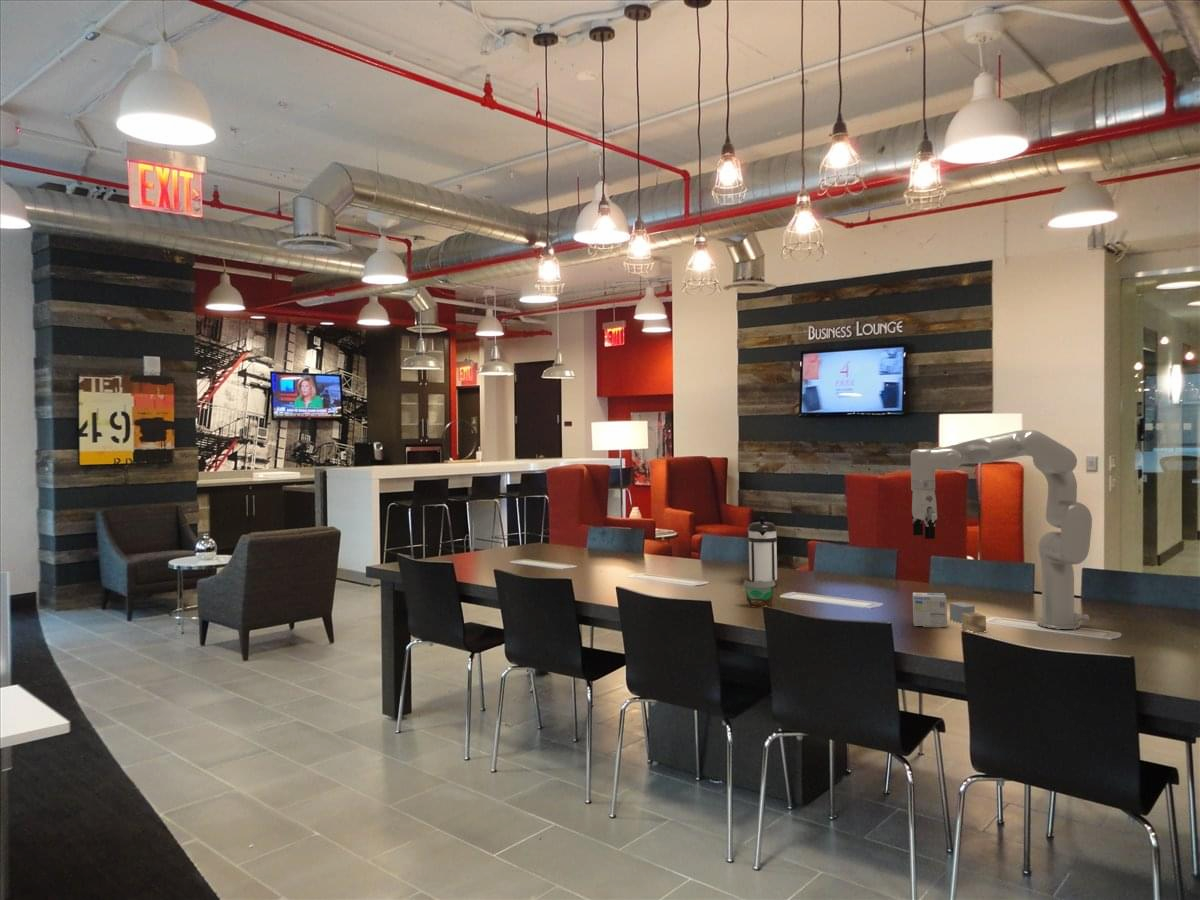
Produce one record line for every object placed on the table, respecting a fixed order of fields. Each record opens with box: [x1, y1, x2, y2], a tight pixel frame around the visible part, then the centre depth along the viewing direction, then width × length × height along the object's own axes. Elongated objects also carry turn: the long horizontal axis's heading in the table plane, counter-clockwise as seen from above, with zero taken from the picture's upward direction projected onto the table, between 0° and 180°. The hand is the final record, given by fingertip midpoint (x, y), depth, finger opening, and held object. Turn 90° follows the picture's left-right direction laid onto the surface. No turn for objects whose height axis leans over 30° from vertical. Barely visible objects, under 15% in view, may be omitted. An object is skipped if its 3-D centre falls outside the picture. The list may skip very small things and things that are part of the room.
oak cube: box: [961, 612, 987, 633], centre depth 278 cm, size 6×6×6 cm
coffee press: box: [747, 516, 778, 586], centre depth 370 cm, size 17×16×30 cm
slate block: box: [949, 601, 976, 624], centre depth 291 cm, size 4×7×6 cm, turn 16°
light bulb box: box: [912, 592, 948, 628], centre depth 286 cm, size 11×7×11 cm, turn 74°
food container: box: [743, 579, 776, 608], centre depth 323 cm, size 12×6×10 cm, turn 76°
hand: (923, 536), depth 280 cm, fingers open, 9 cm apart
